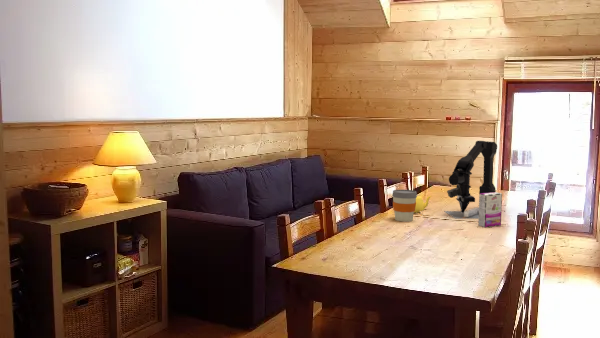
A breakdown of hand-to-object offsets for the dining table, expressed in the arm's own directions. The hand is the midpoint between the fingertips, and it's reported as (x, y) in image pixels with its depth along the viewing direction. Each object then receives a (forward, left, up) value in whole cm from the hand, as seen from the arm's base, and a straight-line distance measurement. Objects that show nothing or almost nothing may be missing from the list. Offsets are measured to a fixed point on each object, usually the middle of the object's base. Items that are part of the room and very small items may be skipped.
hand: (462, 212), depth 308 cm
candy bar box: (-7, +20, -3) cm, 21 cm away
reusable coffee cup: (+33, +6, -3) cm, 34 cm away
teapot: (+21, -17, -3) cm, 27 cm away
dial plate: (-3, 0, -3) cm, 4 cm away
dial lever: (-5, +1, -1) cm, 5 cm away
